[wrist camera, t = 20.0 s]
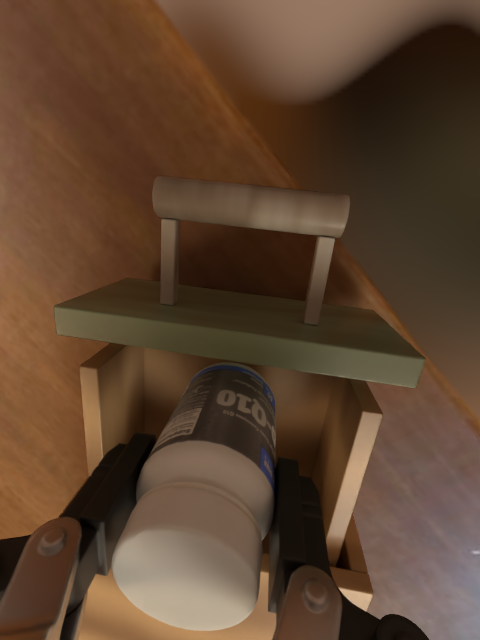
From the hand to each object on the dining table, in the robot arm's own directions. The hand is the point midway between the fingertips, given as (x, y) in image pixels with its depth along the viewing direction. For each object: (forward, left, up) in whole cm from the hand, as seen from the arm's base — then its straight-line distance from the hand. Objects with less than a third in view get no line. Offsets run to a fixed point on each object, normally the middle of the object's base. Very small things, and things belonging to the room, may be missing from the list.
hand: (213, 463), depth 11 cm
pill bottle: (0, 0, -5) cm, 5 cm away
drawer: (0, 0, -7) cm, 7 cm away
